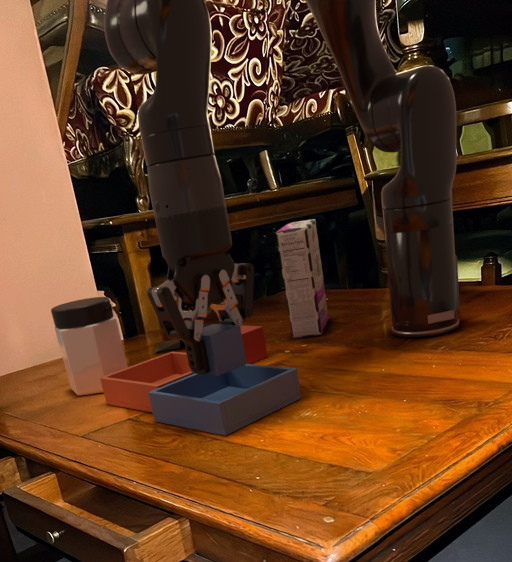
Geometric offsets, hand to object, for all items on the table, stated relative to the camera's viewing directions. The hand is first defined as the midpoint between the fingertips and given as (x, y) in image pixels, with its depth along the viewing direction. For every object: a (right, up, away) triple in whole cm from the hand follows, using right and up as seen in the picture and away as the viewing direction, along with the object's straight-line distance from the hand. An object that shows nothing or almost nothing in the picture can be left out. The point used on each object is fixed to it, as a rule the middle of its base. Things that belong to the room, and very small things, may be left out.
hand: (218, 365), depth 78 cm
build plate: (-7, +9, +39) cm, 41 cm away
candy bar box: (+13, +10, +34) cm, 38 cm away
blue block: (0, 0, 0) cm, 0 cm away
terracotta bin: (-7, -2, +12) cm, 14 cm away
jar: (-18, 0, +22) cm, 28 cm away
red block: (+3, +4, +22) cm, 23 cm away
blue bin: (+1, -5, +2) cm, 5 cm away
